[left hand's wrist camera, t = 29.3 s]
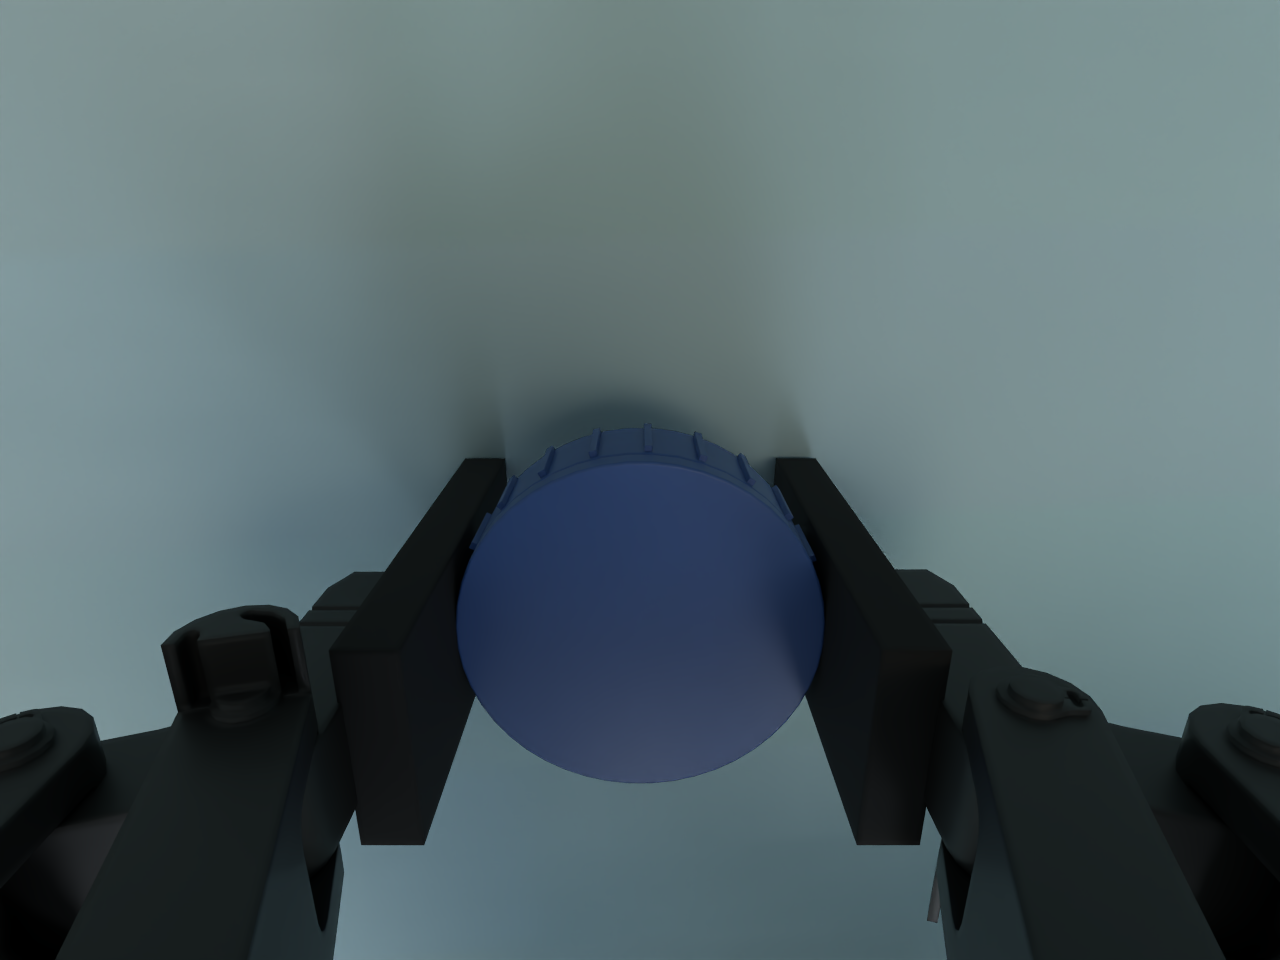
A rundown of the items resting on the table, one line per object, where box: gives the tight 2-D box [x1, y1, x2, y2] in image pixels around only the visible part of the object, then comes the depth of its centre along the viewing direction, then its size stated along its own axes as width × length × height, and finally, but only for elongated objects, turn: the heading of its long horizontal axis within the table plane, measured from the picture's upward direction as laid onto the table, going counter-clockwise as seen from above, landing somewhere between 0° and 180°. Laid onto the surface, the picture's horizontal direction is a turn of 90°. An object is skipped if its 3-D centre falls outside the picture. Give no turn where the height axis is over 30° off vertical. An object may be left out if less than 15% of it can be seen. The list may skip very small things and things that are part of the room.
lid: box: [456, 423, 825, 783], centre depth 11 cm, size 5×5×2 cm
